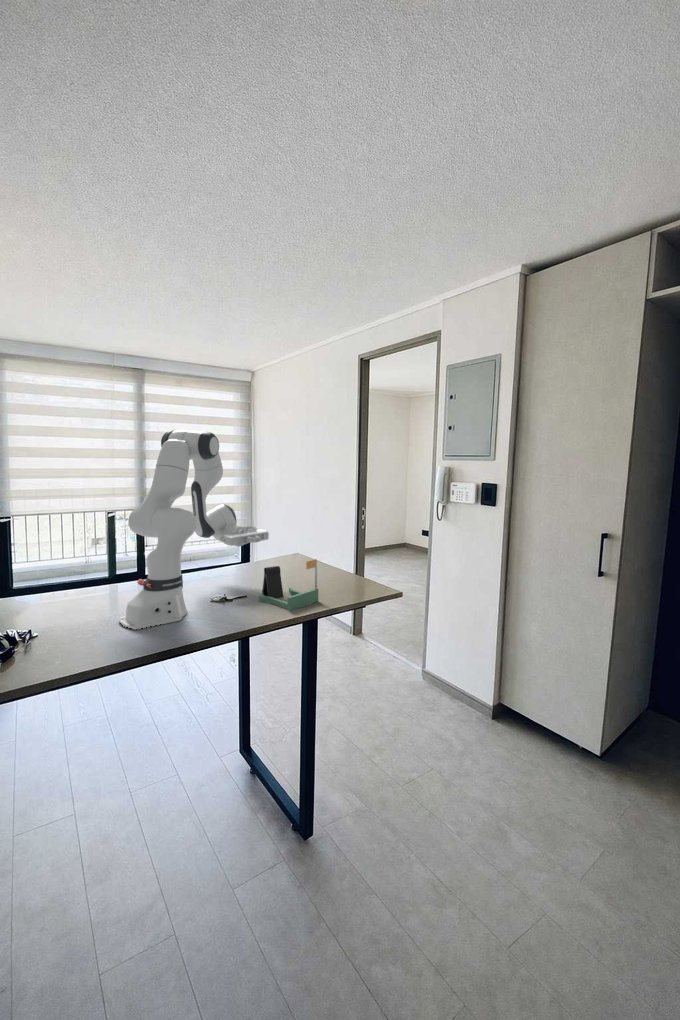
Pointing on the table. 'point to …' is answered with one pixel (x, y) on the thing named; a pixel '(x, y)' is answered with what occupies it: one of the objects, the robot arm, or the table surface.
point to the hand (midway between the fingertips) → (257, 540)
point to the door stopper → (272, 582)
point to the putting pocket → (296, 594)
